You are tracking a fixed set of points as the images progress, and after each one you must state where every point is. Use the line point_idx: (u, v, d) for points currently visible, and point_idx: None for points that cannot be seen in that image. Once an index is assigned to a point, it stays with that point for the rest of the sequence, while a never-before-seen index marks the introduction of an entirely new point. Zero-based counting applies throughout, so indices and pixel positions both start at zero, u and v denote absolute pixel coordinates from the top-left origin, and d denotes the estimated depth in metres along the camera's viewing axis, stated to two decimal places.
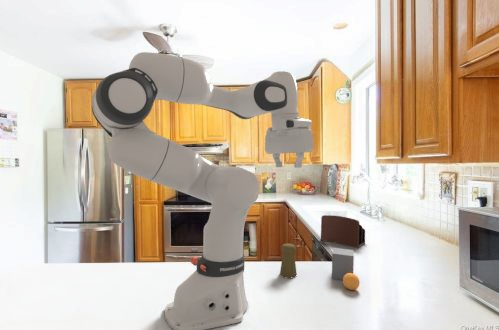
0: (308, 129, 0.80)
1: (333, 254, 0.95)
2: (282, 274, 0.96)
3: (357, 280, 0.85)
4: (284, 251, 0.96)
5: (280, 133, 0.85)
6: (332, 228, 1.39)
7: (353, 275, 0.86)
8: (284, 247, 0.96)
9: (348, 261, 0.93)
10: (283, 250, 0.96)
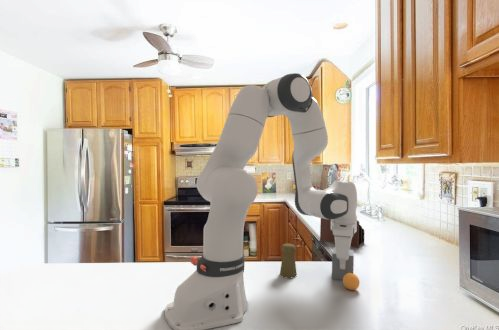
0: (346, 239, 0.88)
1: (333, 254, 0.95)
2: (282, 274, 0.96)
3: (357, 280, 0.85)
4: (284, 251, 0.96)
5: None
6: None
7: (353, 275, 0.86)
8: (284, 247, 0.96)
9: (348, 261, 0.93)
10: (283, 250, 0.96)
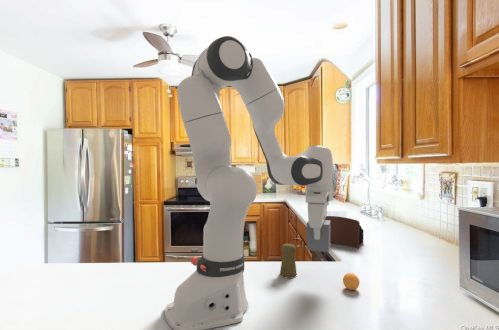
0: (319, 206, 0.82)
1: (307, 224, 0.89)
2: (282, 274, 0.96)
3: (357, 280, 0.85)
4: (284, 251, 0.96)
5: None
6: (331, 229, 1.38)
7: (353, 275, 0.86)
8: (284, 247, 0.96)
9: (323, 230, 0.87)
10: (283, 250, 0.96)
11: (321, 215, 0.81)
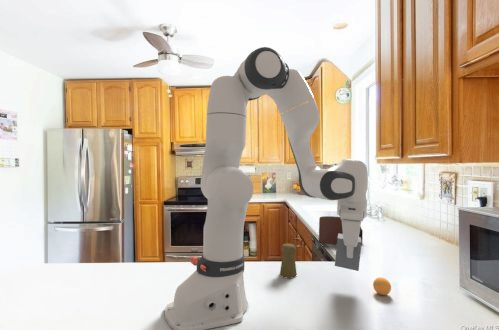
0: (355, 223, 0.78)
1: (338, 239, 0.85)
2: (282, 274, 0.96)
3: (374, 287, 0.83)
4: (284, 251, 0.96)
5: None
6: (331, 229, 1.37)
7: (376, 291, 0.84)
8: (284, 247, 0.96)
9: (355, 248, 0.83)
10: (283, 250, 0.96)
11: (357, 233, 0.77)
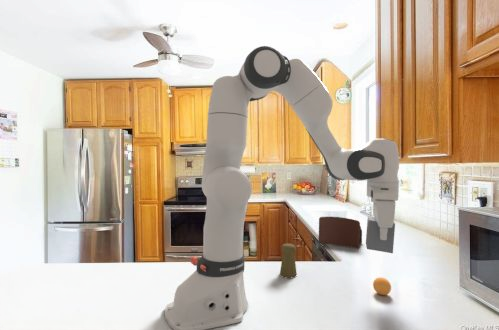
0: (390, 203, 0.75)
1: (370, 221, 0.82)
2: (282, 274, 0.96)
3: (374, 287, 0.83)
4: (284, 251, 0.96)
5: (371, 200, 0.84)
6: (331, 230, 1.36)
7: (376, 291, 0.84)
8: (284, 247, 0.96)
9: (388, 229, 0.80)
10: (283, 250, 0.96)
11: (393, 213, 0.74)
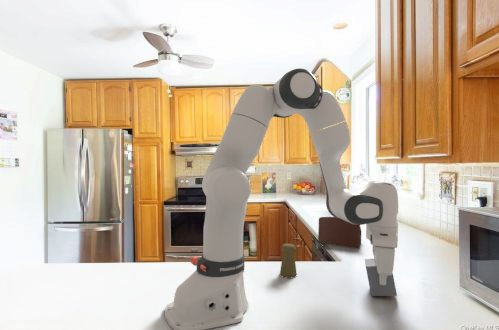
0: (389, 250, 0.75)
1: (367, 267, 0.82)
2: (282, 274, 0.96)
3: None
4: (284, 251, 0.96)
5: (371, 242, 0.84)
6: (331, 230, 1.35)
7: None
8: (284, 247, 0.96)
9: None
10: (283, 250, 0.96)
11: (392, 261, 0.74)
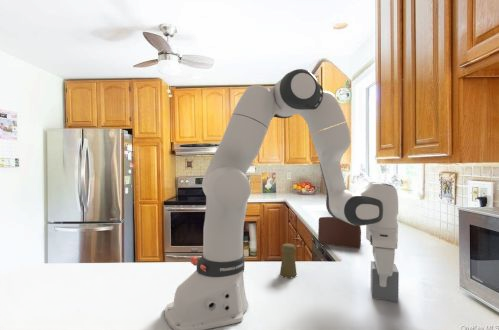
0: (389, 251, 0.75)
1: (373, 269, 0.81)
2: (282, 274, 0.96)
3: None
4: (284, 251, 0.96)
5: (371, 243, 0.84)
6: (331, 230, 1.35)
7: None
8: (284, 247, 0.96)
9: (392, 278, 0.79)
10: (283, 250, 0.96)
11: (392, 262, 0.74)
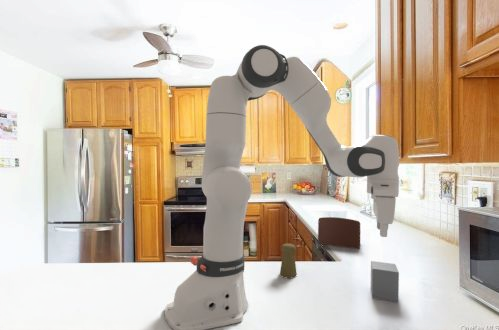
0: (390, 199, 0.75)
1: (374, 269, 0.81)
2: (282, 274, 0.96)
3: None
4: (284, 251, 0.96)
5: (371, 197, 0.84)
6: (331, 230, 1.34)
7: None
8: (284, 247, 0.96)
9: (392, 278, 0.79)
10: (283, 250, 0.96)
11: (393, 209, 0.74)
